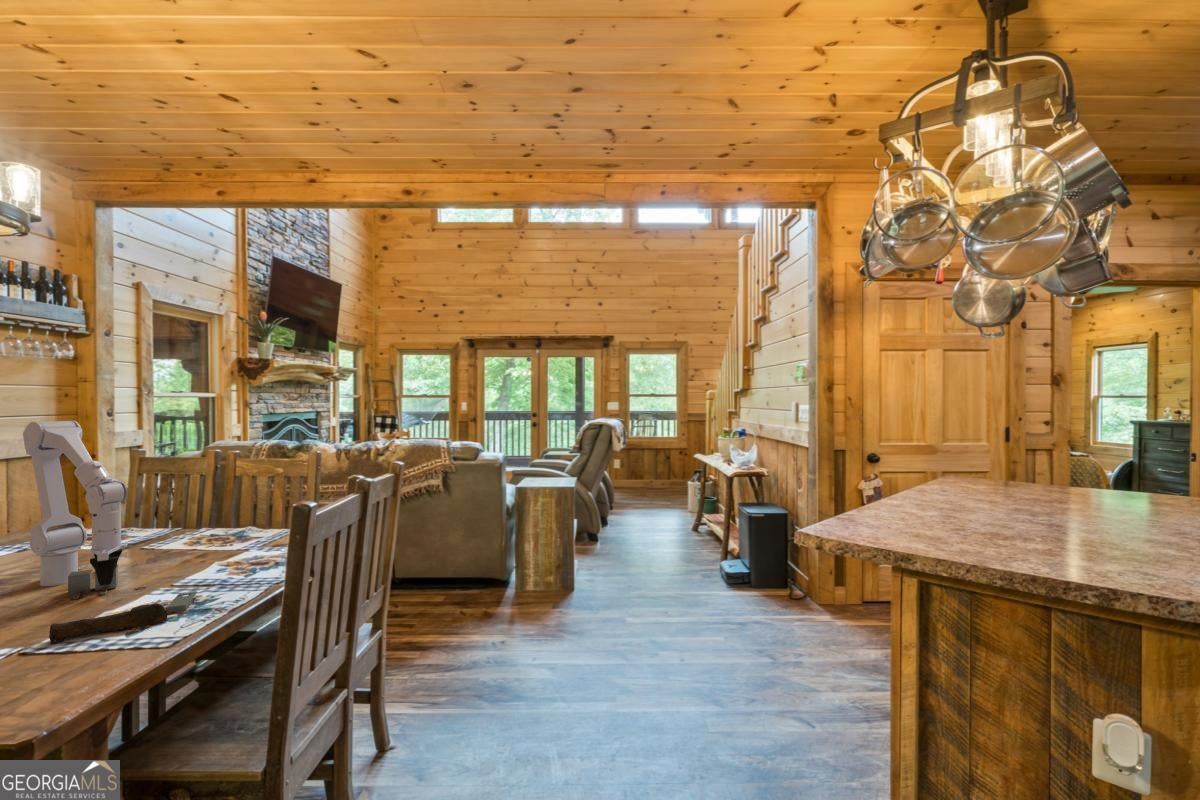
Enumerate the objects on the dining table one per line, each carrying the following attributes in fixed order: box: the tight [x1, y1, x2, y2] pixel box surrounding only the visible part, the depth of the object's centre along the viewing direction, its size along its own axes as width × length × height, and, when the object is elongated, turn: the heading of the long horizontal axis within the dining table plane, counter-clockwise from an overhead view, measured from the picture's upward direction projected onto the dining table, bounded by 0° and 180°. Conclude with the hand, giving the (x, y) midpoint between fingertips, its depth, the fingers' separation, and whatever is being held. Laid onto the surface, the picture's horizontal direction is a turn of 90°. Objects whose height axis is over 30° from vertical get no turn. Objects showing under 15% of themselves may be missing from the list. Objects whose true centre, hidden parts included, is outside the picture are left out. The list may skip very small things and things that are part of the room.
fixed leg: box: [67, 569, 93, 601], centre depth 138 cm, size 8×4×5 cm, turn 36°
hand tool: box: [48, 602, 168, 644], centre depth 119 cm, size 19×4×5 cm, turn 123°
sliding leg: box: [94, 563, 119, 596], centre depth 141 cm, size 8×4×5 cm, turn 36°
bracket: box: [165, 590, 198, 614], centre depth 135 cm, size 4×10×2 cm, turn 23°
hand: (106, 581), depth 143 cm, fingers open, 4 cm apart
